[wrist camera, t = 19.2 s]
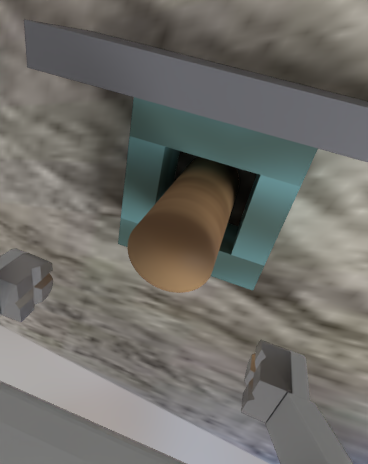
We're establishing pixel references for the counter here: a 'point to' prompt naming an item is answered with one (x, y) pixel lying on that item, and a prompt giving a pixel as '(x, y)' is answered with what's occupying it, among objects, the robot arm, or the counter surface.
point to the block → (223, 151)
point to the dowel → (185, 227)
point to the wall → (202, 87)
